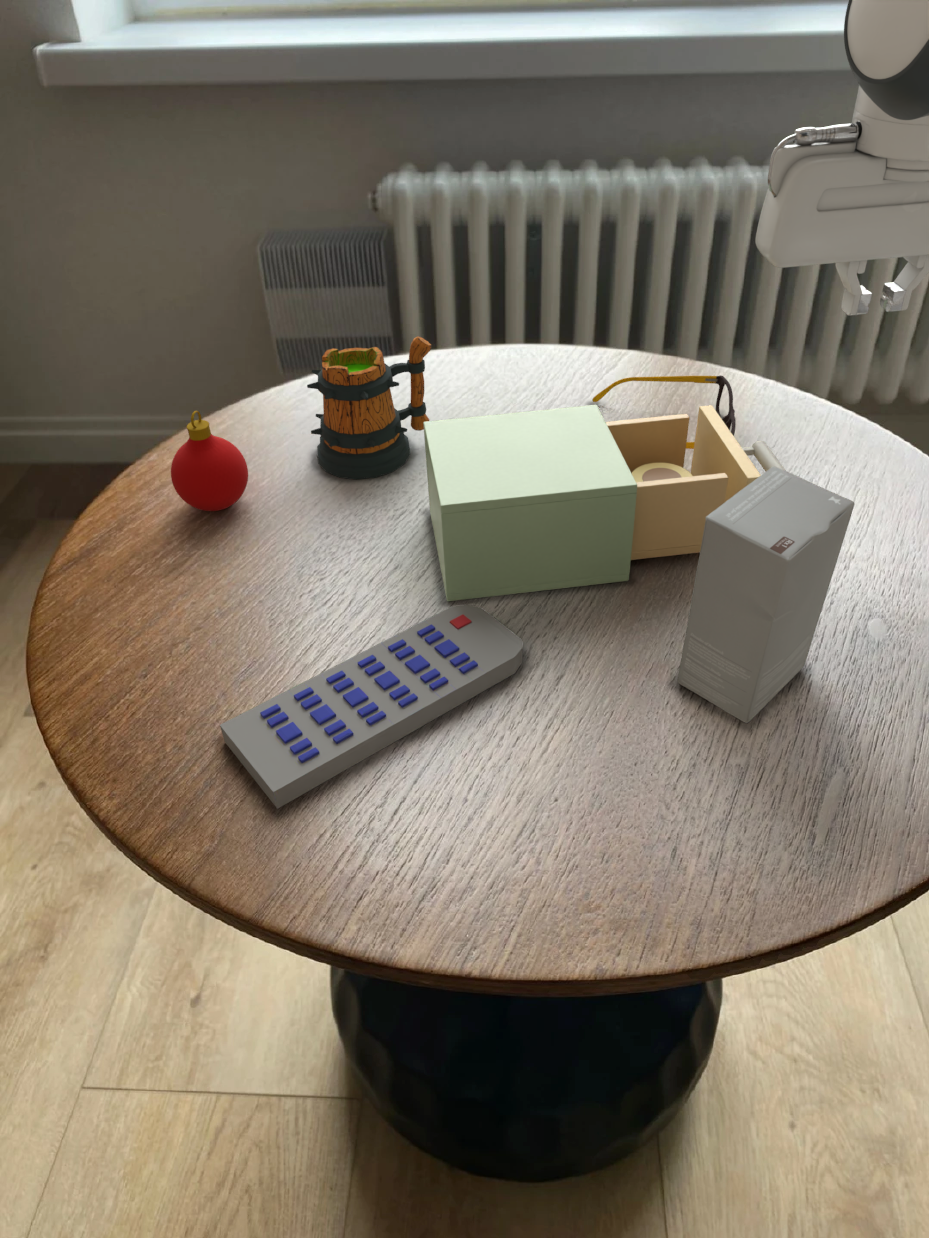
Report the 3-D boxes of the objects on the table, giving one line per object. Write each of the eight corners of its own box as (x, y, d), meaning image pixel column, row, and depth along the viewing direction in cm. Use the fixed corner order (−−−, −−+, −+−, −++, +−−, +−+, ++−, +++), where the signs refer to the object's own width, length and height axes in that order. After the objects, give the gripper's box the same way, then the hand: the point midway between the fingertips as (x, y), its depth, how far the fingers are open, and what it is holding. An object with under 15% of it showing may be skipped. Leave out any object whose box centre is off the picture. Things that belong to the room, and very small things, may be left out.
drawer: (745, 474, 92) (758, 400, 87) (796, 549, 83) (813, 471, 78) (552, 494, 91) (553, 420, 86) (581, 573, 82) (585, 495, 77)
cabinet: (591, 495, 92) (596, 404, 86) (629, 581, 82) (637, 484, 76) (429, 512, 91) (423, 421, 85) (446, 602, 81) (440, 505, 75)
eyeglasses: (733, 478, 94) (739, 442, 91) (583, 470, 96) (585, 435, 93) (726, 408, 104) (731, 373, 102) (592, 402, 106) (593, 368, 104)
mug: (326, 489, 95) (310, 381, 87) (306, 441, 102) (289, 337, 95) (452, 463, 98) (446, 356, 90) (423, 418, 105) (415, 315, 98)
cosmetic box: (734, 631, 77) (766, 457, 66) (815, 674, 72) (863, 495, 62) (669, 685, 72) (694, 508, 62) (752, 734, 68) (793, 552, 58)
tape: (679, 492, 88) (683, 458, 86) (698, 526, 84) (703, 491, 82) (620, 498, 88) (623, 465, 86) (636, 533, 84) (639, 498, 82)
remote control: (224, 742, 70) (218, 721, 68) (472, 612, 80) (470, 592, 78) (277, 810, 65) (271, 789, 63) (534, 663, 75) (534, 641, 73)
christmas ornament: (200, 482, 97) (177, 391, 90) (265, 488, 95) (246, 396, 89) (167, 521, 92) (140, 428, 85) (236, 529, 90) (214, 434, 84)
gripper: (793, 141, 64) (760, 339, 73) (1083, 118, 66) (1016, 314, 75) (759, 118, 69) (732, 306, 78) (1029, 98, 71) (973, 284, 79)
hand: (873, 310), depth 76 cm, fingers closed
